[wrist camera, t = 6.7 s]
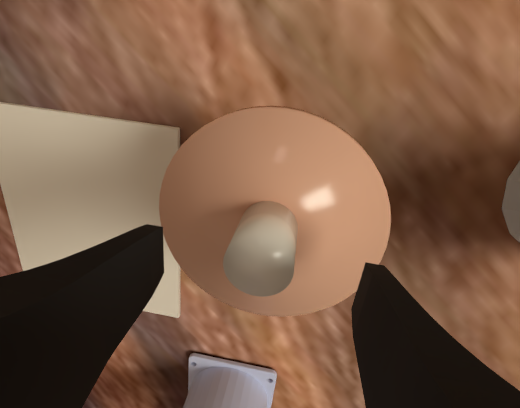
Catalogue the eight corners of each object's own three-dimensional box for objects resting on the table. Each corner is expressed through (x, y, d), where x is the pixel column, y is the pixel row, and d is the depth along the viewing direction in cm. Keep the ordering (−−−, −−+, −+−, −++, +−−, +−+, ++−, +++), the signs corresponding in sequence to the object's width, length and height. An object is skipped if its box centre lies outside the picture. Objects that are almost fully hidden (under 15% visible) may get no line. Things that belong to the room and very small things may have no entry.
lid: (355, 325, 16) (366, 392, 13) (166, 287, 17) (130, 341, 14) (421, 125, 12) (462, 150, 8) (162, 89, 13) (110, 99, 9)
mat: (180, 314, 27) (178, 317, 27) (30, 284, 28) (27, 287, 28) (180, 127, 20) (177, 128, 20) (-17, 99, 22) (-22, 100, 21)
